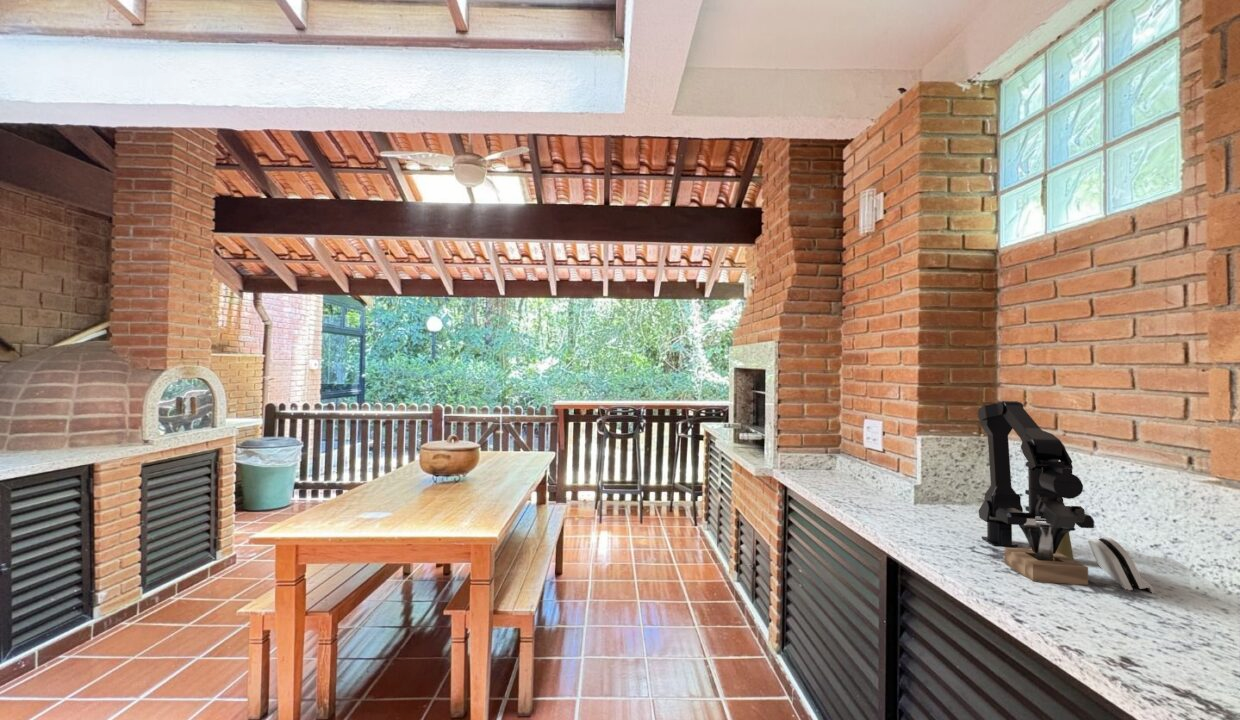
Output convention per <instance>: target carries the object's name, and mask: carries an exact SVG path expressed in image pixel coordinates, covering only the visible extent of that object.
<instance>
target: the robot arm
mask: <svg viewBox="0 0 1240 720" xmlns="http://www.w3.org/2000/svg"><path fill="white" fill-rule="evenodd" d="M977 417H978V420H979V424H980V427H981V428H982V430H983V431H984V432H985V434H986V435H987V444H988V460H989V476H990V486H989V487H988V489H987V490H986V492H985V493H984V501H983V502H982V504H981V505H980V507H979V509H978V516H979V518H980V520H982V521H984V522H985V523H986V524H987V525H986V526H987V528H986V529H987V531H986V532H987V534H986V535H987V536H981V539H982V540H984V541H985V542H986V543H989V544H990V545H993V546H1000V547H1016V548H1017V547H1018V546H1019V545H1018V544H1017V543H1016V542H1014V541H1013V526H1014V525H1017V526H1019V528H1020V529H1021V532H1022V533H1023V535H1024V536H1025V538H1026V541H1027V542H1028V544H1029V546H1030V549H1032V550H1033V552H1035V553H1037V551H1038V536H1037V532H1038V531H1039V529H1040V527H1038V526H1036V522H1046V521H1047V523H1048V524H1050V525H1051V526H1053V554H1055V553H1056V551H1057V548H1058V546H1059V544H1060V542H1061V540H1062V539H1063V537H1064V535H1065V534H1066V533H1068V532H1069V533H1070V532H1073V531H1074V532H1075V531H1076V528H1075V526H1078V527H1079V528H1080V529H1095V520H1094V518H1093V516H1091V515H1090V514H1088V513H1085V512H1086V511H1085V508H1083V507H1082V506H1080V505H1071V506H1070V505H1065V503H1064V499H1067V500H1068V499H1069V500H1071V499H1075V498H1078V497H1079V496H1080V495H1081V494H1082V493H1083V490H1084V484H1083V482H1082V480H1081V479H1080V477H1078V476H1077V475H1075V474H1073V469H1074V466H1073V460H1072V459H1071V457H1070V455H1069V453H1068V451H1067V450H1066V446H1065V444H1063V442H1062V440H1061V439H1060V438H1058V437H1057V436H1056V435H1054V434H1053V433H1050V432H1048V431H1045V430H1043V429H1042V428H1041V427H1040V426H1039V425H1038V423H1037V422H1035V420H1034V419H1033V417H1031V415H1030V414H1029V413H1028V412H1027V411H1026V410H1025V408H1024V405H1023V402H1020V401H1018V400H1017V401H1016V400H1015V401H1014V400H1012V401H1011V400H1010V401H1009V400H1002V401H999V402H996V403H990V404H983V405H982V406H981V407H980V408H979V409H978V411H977ZM1012 431H1014V432H1015V433H1016V435H1017V436H1018V438H1019V439H1020V441H1021V444H1020V450H1021V451H1022V454H1023V456H1024V457H1025V459H1026V461H1027V462H1025V464H1024V465H1025V467H1027V468H1028V469H1027V470H1028V474H1027V475H1028V478H1027V479H1028V489H1025V491H1024V492H1025V495H1027V496H1028V506H1025V508H1024V509H1025V511H1026V512H1024V510H1023V506H1022V503H1021V500H1022V498H1021V496H1020V494H1018V493H1016V491H1015V490H1014V488H1013V487H1012V474H1011V472H1012V471H1011V461H1010V460H1011V459H1010V447H1009V446H1010V445H1009V435H1010V433H1011V432H1012Z"/></svg>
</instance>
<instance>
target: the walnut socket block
mask: <svg viewBox="0 0 1240 720" xmlns="http://www.w3.org/2000/svg"><path fill="white" fill-rule="evenodd" d="M1003 549H1004V550H1003V551H1004V564H1005V565H1006V566H1008V567H1010V568H1011V569H1013V570H1014V571H1016V572H1018V574H1021V575H1023V576H1024V577H1025V578H1027V579H1028V580H1030V581H1032V582H1035V581H1036V582H1039V583H1055V584H1056V583H1057V584H1071V585H1083V586H1084V585H1086V586H1087V585H1089V567H1088V566H1086V565H1084V564H1082V563H1080V562H1078V561H1077V560H1075V559H1074V560H1072V559H1070V558H1069V557H1067V556H1065V555H1063V554H1061V553H1059V552H1057V551H1056V553H1055V554H1053V561H1041V560H1037V559H1035V552H1033V550H1032V548H1020V547H1019V548H1017V547H1016V548H1015V547H1004V548H1003Z"/></svg>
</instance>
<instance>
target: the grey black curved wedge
mask: <svg viewBox="0 0 1240 720" xmlns="http://www.w3.org/2000/svg"><path fill="white" fill-rule="evenodd" d="M1088 545H1089V547H1090V549H1091V551H1092V552H1091V553H1092V554H1093V556H1094V559H1095V562H1096V563H1097V564H1096V565H1097V566H1098V565H1099V566H1100V567H1101V568H1102V571H1104V572H1105V573H1106V574H1107V573H1108V574H1109V575H1110V576H1109V575H1108V574H1107V575H1108V576H1109V577H1111V579H1112V580H1114V581H1115V580H1116V581H1117V582H1116V581H1115V582H1116V583H1118V585H1119V586H1120V587H1122V586H1123V587H1124V588H1125V589H1124V588H1123V587H1122V588H1123V589H1124V590H1126V589H1129V590H1128V591H1133V590H1134V588H1135V587H1136V588H1138V589H1140V590H1142V589H1143V590H1144V589H1146V588H1147V589H1148V590H1147V589H1146V590H1147V591H1149V592H1150V593H1151V592H1152V593H1151V594H1153V593H1155V594H1156V592H1155V590H1154V588H1153V586H1152V585H1151V584H1150V583H1149V582H1148V581H1146V580H1145V579H1144V578H1142V577H1141V574H1140V572H1139V570H1138V569H1137V566H1136V564H1135V562H1134V560H1133V559H1132V556H1131V555H1130V554H1129V553H1128V551H1126V550H1125V549H1124V547H1123V546H1121V544H1120V543H1118V541H1116V540H1114V539H1113V538H1112V537H1099V539H1098V538H1092V539H1090V540H1088ZM1099 566H1098V567H1099ZM1100 567H1099V568H1100ZM1101 568H1100V569H1101Z"/></svg>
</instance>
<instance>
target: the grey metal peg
mask: <svg viewBox="0 0 1240 720" xmlns="http://www.w3.org/2000/svg"><path fill="white" fill-rule="evenodd" d="M1036 526H1038V527H1040V529H1039V531H1038V532H1037V536H1038V551H1037V553H1035V559H1037V560H1041V561H1053V526H1051V525H1050V524H1048V523H1046V522H1043V521H1036Z"/></svg>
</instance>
